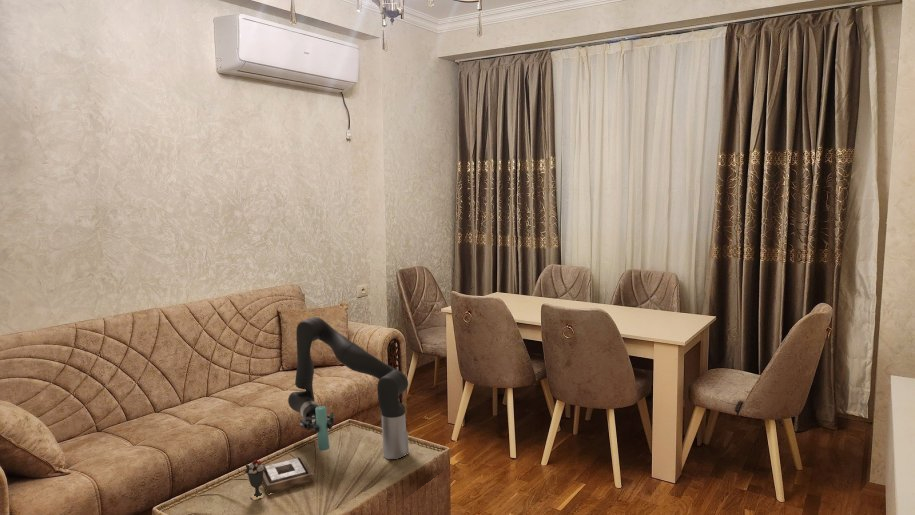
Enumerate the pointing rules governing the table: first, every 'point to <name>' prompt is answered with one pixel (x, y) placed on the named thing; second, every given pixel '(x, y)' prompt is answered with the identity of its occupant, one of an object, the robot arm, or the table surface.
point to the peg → (322, 428)
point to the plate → (284, 470)
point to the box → (290, 482)
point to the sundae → (255, 475)
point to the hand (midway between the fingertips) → (324, 428)
